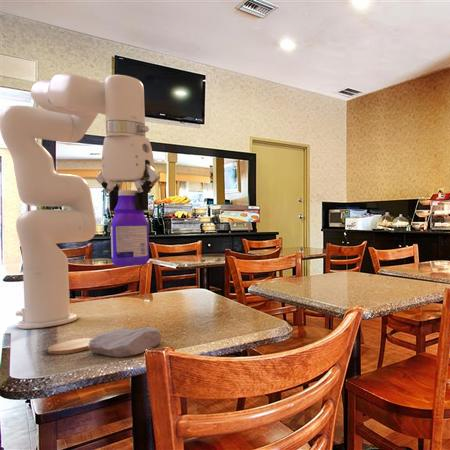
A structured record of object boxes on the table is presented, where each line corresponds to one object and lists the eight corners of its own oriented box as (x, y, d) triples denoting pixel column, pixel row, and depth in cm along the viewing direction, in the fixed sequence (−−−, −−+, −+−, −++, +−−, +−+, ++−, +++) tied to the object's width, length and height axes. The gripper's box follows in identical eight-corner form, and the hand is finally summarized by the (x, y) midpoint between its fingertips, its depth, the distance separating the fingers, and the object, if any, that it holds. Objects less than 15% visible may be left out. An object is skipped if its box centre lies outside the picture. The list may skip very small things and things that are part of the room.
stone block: (134, 365, 84) (166, 341, 94) (129, 344, 83) (161, 321, 92) (82, 366, 85) (118, 342, 95) (76, 345, 84) (113, 323, 94)
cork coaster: (36, 353, 87) (36, 350, 87) (75, 340, 96) (75, 337, 96) (73, 354, 86) (73, 351, 86) (109, 341, 95) (109, 338, 95)
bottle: (145, 263, 99) (143, 191, 99) (152, 264, 95) (149, 190, 95) (109, 266, 94) (106, 190, 94) (115, 268, 90) (112, 189, 90)
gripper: (171, 133, 97) (174, 209, 97) (105, 136, 99) (108, 211, 99) (148, 126, 89) (151, 209, 90) (77, 130, 91) (81, 211, 92)
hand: (129, 209), depth 94 cm, fingers closed on bottle, 5 cm apart
